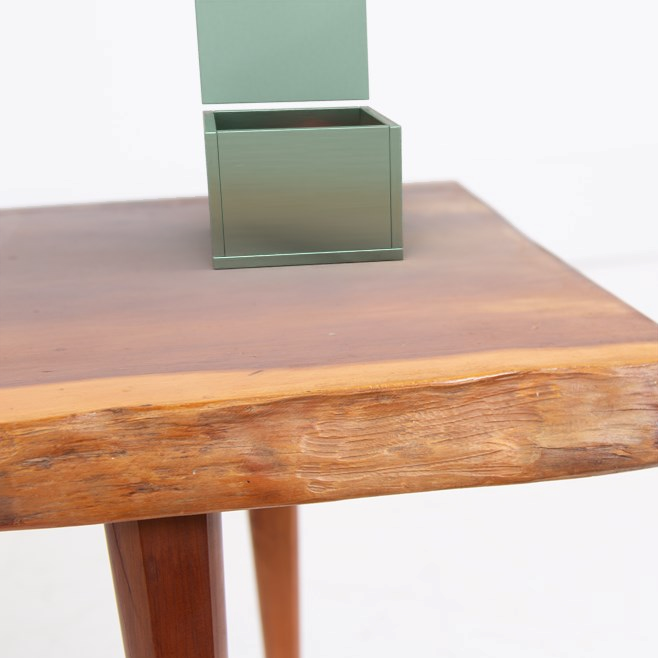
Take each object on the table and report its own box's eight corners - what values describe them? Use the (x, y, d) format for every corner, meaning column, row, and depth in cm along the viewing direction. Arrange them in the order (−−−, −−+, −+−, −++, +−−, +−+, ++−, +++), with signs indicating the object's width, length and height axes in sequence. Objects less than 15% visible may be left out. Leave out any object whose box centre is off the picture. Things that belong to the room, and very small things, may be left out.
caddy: (403, 259, 75) (401, 125, 72) (213, 269, 73) (204, 131, 70) (371, 220, 89) (368, 105, 86) (210, 227, 87) (202, 110, 84)
